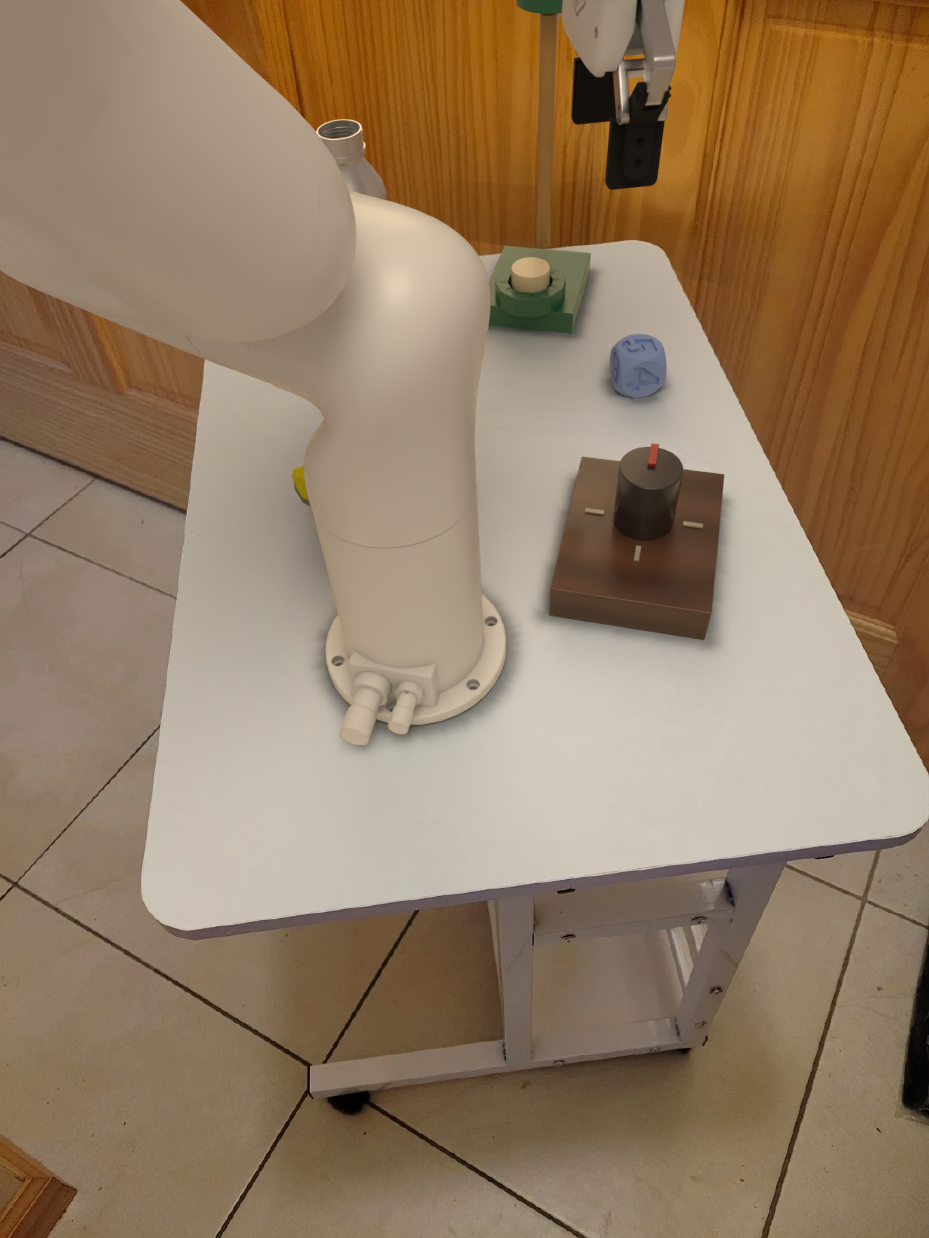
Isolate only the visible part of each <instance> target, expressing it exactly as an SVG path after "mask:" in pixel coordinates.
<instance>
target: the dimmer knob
mask: <svg viewBox="0 0 929 1238" xmlns="http://www.w3.org/2000/svg"><path fill="white" fill-rule="evenodd" d="M619 461H620V464H619V472H618V480H617V488H616V497H615V505H614V513H613V519H614V522H615V524H616V526H617V528H618V529H619V530H620V531H621V532H623V533H624V534H626V535H628V536H630V537H633V538H636V539H643V540H649V539H655V538H659V537H661V536H663V535H665V534H666V533H667V532H668V531H669V530H670V529H671V528H672V526H673V523H674V518H675V513H676V507H677V502H678V497H679V492H680V487H681V482H682V477H683V469H684V465H683V463H682V461H681V460H680V458H679V457H678V456H677V455H676V454H675V453H673V452H671V451H670V450H667V449H665V448H663V447H660V444H659V443H650V446H642V447H636V448H634V449H631V450H629V451H628V452H627V453H625V454H624V455H623V456H622V457H621V459H620V460H619Z"/></svg>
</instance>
